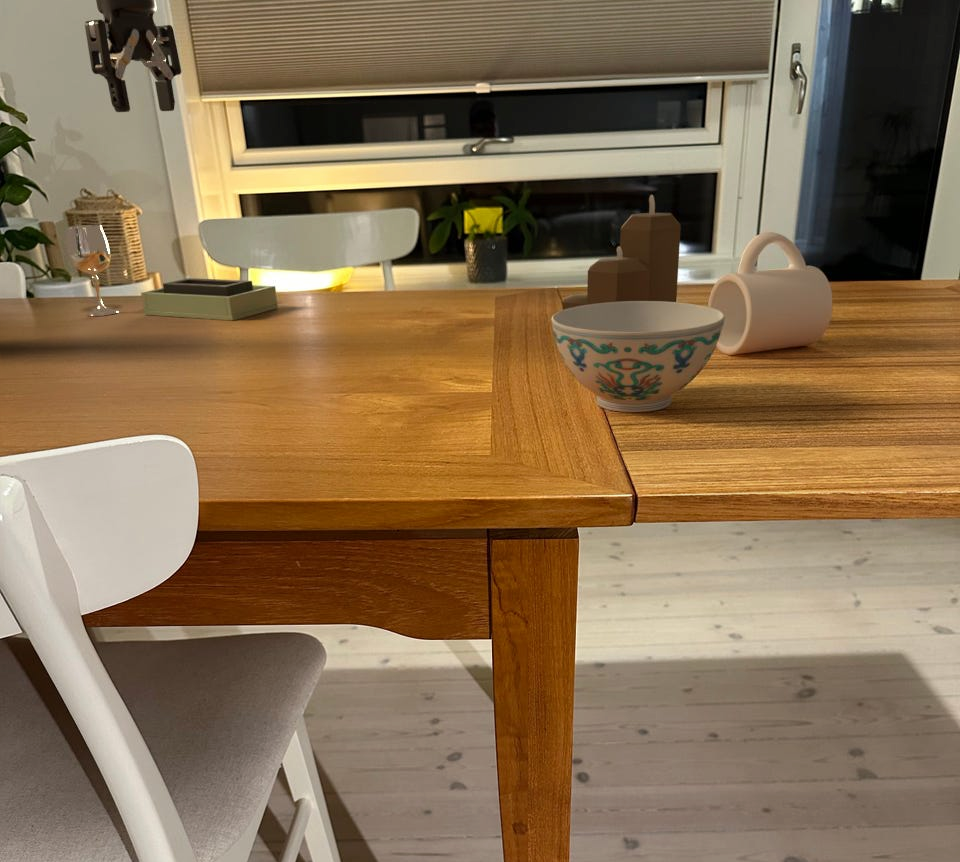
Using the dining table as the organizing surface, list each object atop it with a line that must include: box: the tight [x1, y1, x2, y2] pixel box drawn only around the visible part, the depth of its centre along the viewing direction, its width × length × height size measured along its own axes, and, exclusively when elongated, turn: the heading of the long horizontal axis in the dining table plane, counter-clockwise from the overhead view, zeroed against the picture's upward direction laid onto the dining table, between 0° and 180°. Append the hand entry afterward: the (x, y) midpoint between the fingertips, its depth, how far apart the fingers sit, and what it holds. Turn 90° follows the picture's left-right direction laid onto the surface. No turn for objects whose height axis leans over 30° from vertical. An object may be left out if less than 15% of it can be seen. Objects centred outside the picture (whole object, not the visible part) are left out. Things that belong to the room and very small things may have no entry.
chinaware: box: [551, 301, 725, 413], centre depth 86 cm, size 15×15×8 cm
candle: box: [561, 194, 682, 311], centre depth 113 cm, size 14×14×15 cm
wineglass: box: [66, 224, 119, 317], centre depth 140 cm, size 6×6×12 cm
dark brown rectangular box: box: [162, 277, 254, 296], centre depth 139 cm, size 12×6×4 cm, turn 63°
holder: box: [140, 284, 279, 322], centre depth 140 cm, size 17×10×3 cm, turn 63°
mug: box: [707, 231, 834, 356], centre depth 102 cm, size 8×10×12 cm
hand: (145, 111), depth 133 cm, fingers open, 8 cm apart
